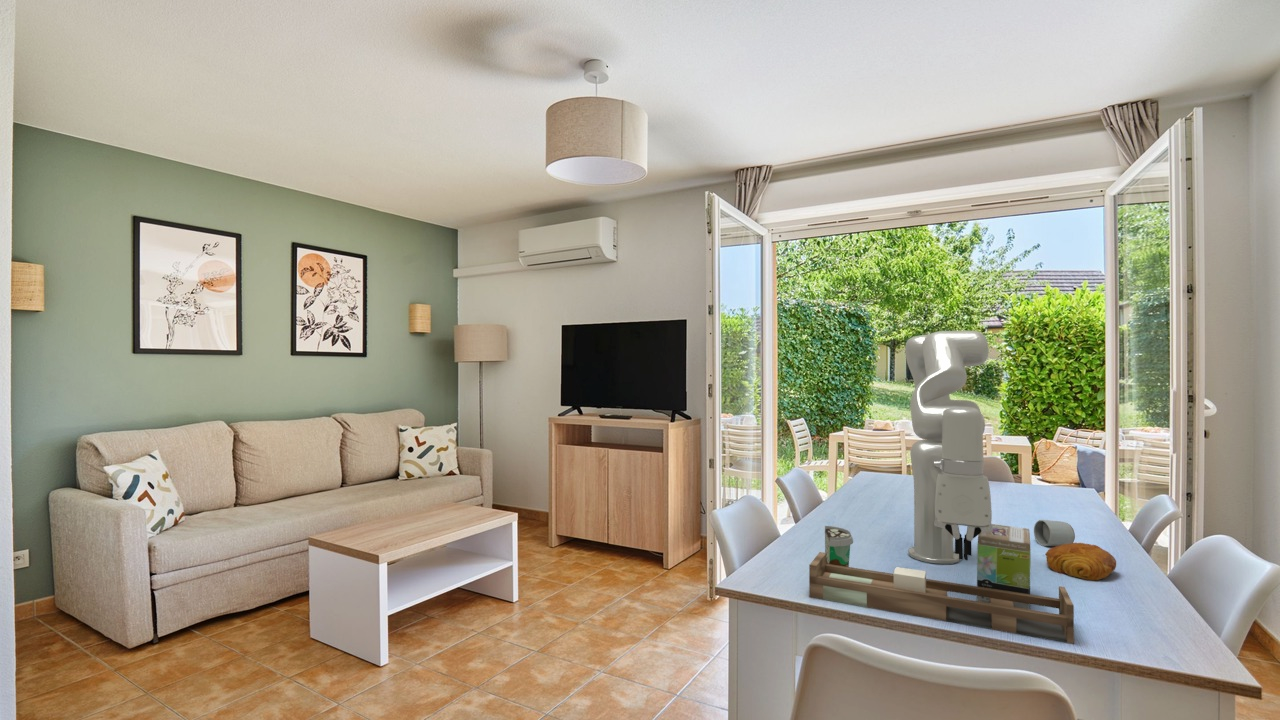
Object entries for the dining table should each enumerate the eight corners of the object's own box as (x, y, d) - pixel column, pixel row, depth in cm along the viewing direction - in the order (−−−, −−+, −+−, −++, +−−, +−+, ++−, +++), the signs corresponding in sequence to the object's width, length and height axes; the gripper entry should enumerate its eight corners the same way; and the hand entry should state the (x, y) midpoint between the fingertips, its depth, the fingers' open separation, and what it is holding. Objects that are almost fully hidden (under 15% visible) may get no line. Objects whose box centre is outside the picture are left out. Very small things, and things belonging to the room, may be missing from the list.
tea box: (1031, 614, 125) (1031, 542, 125) (976, 604, 130) (975, 535, 130) (1030, 592, 138) (1029, 526, 138) (979, 583, 143) (979, 520, 143)
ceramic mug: (1077, 549, 171) (1077, 522, 172) (1050, 549, 171) (1050, 523, 171) (1051, 539, 182) (1051, 515, 182) (1026, 539, 181) (1025, 515, 182)
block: (895, 585, 133) (895, 566, 133) (926, 589, 130) (925, 571, 130) (893, 592, 128) (893, 573, 128) (924, 597, 126) (924, 578, 126)
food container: (856, 581, 144) (856, 539, 144) (829, 579, 145) (829, 537, 145) (849, 565, 156) (849, 526, 156) (824, 563, 157) (824, 525, 157)
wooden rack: (819, 581, 143) (819, 552, 144) (1065, 622, 121) (1064, 587, 121) (809, 596, 134) (809, 565, 134) (1073, 643, 111) (1073, 605, 111)
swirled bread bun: (1123, 581, 151) (1125, 549, 152) (1104, 586, 142) (1106, 551, 142) (1056, 565, 163) (1058, 535, 163) (1034, 568, 153) (1037, 536, 154)
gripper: (921, 467, 125) (922, 557, 124) (1005, 473, 118) (1006, 568, 117) (923, 463, 132) (924, 549, 131) (1003, 469, 125) (1004, 559, 124)
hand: (963, 558), depth 124 cm, fingers closed
